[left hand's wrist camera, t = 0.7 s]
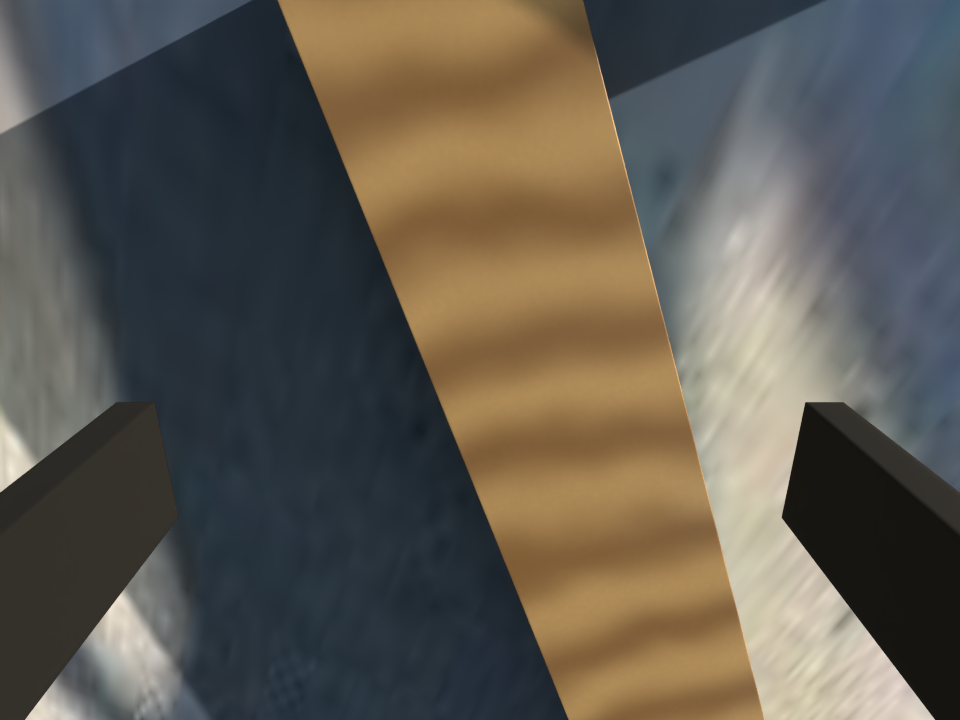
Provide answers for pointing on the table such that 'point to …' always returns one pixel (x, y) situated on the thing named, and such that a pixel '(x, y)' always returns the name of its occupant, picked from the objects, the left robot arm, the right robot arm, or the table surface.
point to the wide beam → (539, 333)
